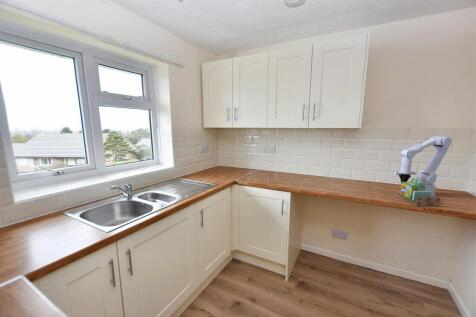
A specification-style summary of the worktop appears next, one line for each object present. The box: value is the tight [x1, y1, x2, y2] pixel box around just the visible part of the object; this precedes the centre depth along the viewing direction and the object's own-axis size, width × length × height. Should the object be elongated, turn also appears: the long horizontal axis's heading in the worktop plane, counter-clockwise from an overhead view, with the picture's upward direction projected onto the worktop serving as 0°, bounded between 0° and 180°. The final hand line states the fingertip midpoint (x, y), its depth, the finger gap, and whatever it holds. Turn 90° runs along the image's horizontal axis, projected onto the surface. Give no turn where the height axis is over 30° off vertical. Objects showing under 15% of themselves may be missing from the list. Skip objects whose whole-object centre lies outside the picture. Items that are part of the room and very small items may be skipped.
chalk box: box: [399, 177, 425, 199], centre depth 143 cm, size 9×9×15 cm
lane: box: [394, 192, 441, 207], centre depth 140 cm, size 14×19×6 cm
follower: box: [412, 191, 432, 201], centre depth 136 cm, size 11×2×8 cm, turn 90°
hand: (403, 184), depth 151 cm, fingers closed
